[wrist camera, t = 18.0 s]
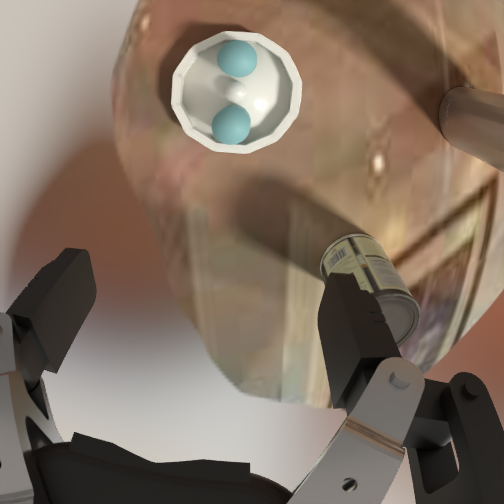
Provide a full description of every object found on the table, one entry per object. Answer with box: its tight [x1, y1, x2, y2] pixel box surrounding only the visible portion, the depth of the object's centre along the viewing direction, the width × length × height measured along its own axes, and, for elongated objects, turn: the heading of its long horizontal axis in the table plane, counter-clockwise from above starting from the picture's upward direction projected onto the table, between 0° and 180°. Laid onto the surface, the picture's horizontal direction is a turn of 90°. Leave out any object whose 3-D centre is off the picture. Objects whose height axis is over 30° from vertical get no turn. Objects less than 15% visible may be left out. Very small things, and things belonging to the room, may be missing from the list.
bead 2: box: [212, 105, 251, 145], centre depth 32 cm, size 4×4×4 cm
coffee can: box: [320, 234, 421, 347], centre depth 39 cm, size 10×10×14 cm
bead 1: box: [217, 40, 257, 77], centre depth 29 cm, size 4×4×4 cm
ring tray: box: [171, 31, 302, 154], centre depth 32 cm, size 15×15×2 cm
